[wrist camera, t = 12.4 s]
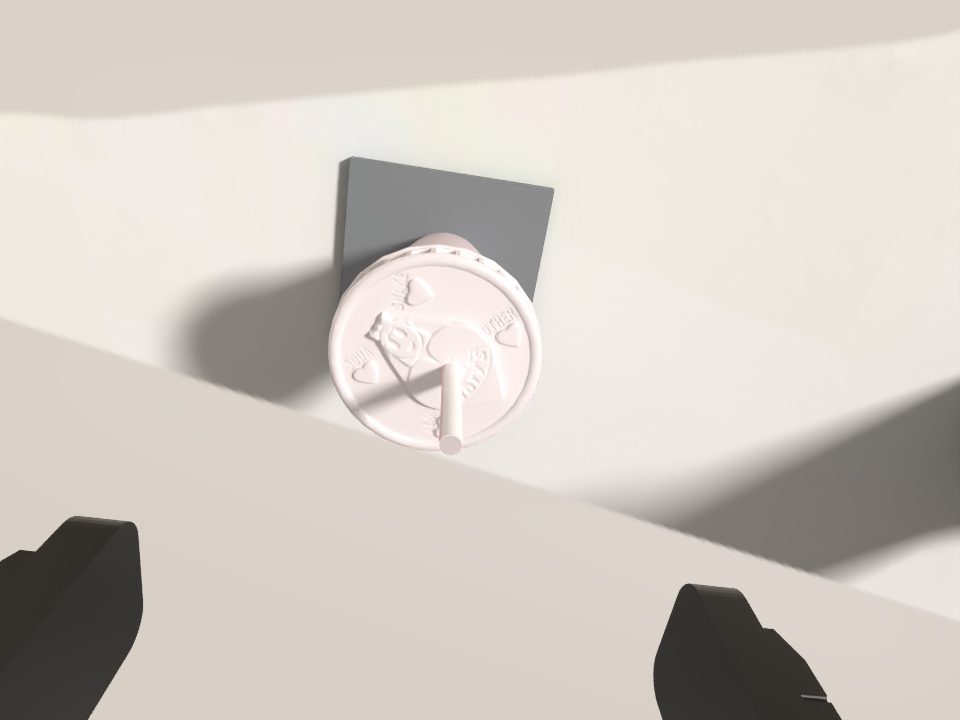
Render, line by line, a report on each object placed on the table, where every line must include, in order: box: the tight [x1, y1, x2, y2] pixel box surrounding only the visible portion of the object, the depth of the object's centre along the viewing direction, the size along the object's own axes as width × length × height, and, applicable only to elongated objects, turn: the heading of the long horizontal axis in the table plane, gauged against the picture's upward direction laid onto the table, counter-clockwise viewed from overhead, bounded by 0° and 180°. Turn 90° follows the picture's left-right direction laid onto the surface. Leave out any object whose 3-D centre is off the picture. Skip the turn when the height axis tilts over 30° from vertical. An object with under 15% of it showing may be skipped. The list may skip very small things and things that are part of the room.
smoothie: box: [328, 233, 542, 456], centre depth 20 cm, size 6×6×14 cm
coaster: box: [340, 156, 554, 303], centre depth 27 cm, size 8×8×1 cm
